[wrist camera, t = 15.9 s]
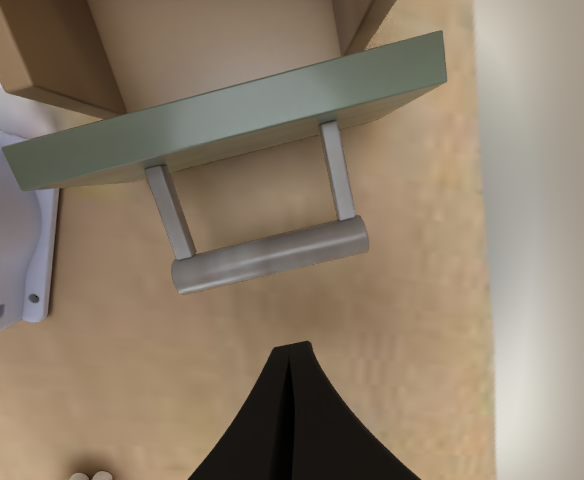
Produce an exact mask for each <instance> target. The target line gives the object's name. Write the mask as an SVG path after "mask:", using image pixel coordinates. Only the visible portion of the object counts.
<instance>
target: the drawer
mask: <svg viewBox="0 0 584 480" xmlns="http://www.w3.org/2000/svg"><path fill="white" fill-rule="evenodd" d="M395 2H396V0H0V82H1V84H2V86H3V89H4V90H5V92H7V93H9V94H13V95H16V96H20V97H24V98H27V99H31V100H35V101H39V102H42V103H46V104H50V105H53V106H57V107H61V108H64V109H68V110H72V111H75V112H79V113H83V114H86V115H90V116H94V117H97V118H101V119H105V120H101V121H97V122H93V123H90V124H86V125H82V126H78V127H75V128H71V129H67V130H63V131H59V132H56V133H52V134H48V135H44V136H41V137H37V138H33V139H29V140H26V141H22V142H18V143H14V144H11V145H7V146H3V147H1V149H2V151H3V153H4V155H5V157H6V159H7V162H8V164H9V166H10V168H11V170H12V172H13V174H14V176H15V178H16V180H17V182H18V185H19V187H20V189H21V190H22V191H32V190H44V189H56V188H68V187H80V186H92V185H103V184H115V183H127V182H135V181H139V180H143V179H147V180H148V182H149V185H150V188H151V191H152V193H153V196H154V199H155V202H156V204H157V207H158V210H159V213H160V215H161V218H162V221H163V224H164V226H165V229H166V232H167V235H168V237H169V240H170V243H171V246H172V248H173V251H174V254H175V257H176V260H174V262H173V264H172V279H173V283H174V285H175V287H176V289H177V291H178V292H179V293H180V294H182V295H187V294H192V293H196V292H200V291H204V290H209V289H213V288H217V287H221V286H226V285H230V284H234V283H238V282H243V281H247V280H251V279H255V278H260V277H264V276H268V275H272V274H277V273H281V272H285V271H289V270H294V269H298V268H302V267H306V266H311V265H315V264H319V263H323V262H328V261H332V260H336V259H340V258H345V257H349V256H353V255H357V254H362V253H366V252H368V251H369V239H368V234H367V230H366V227H365V224H364V222H363V220H362V218H361V216H359V215H355V209H354V204H353V199H352V193H351V188H350V183H349V178H348V172H347V167H346V162H345V156H344V151H343V146H342V140H341V135H340V130H339V129H343V128H347V127H351V126H355V125H359V124H363V123H367V122H371V121H374V120H378V119H380V118H381V117H383V116H385V115H387V114H389V113H391V112H392V111H394V110H396V109H398V108H400V107H402V106H403V105H405V104H407V103H409V102H411V101H413V100H414V99H416V98H418V97H420V96H422V95H424V94H425V93H427V92H429V91H431V90H433V89H435V88H436V87H438V86H440V85H442V84H444V83H445V82H447V73H446V62H445V51H444V41H443V32H442V31H441V30H440V31H436V32H432V33H429V34H425V35H421V36H417V37H413V38H410V39H406V40H402V41H398V42H395V43H391V44H387V45H383V46H380V47H376V48H372V49H368V50H365V51H364V49H365V48H366V46H367V45H368V43H369V42H370V40H371V39H372V37H373V35H374V34H375V32H376V31H377V29H378V28H379V26H380V25H381V23H382V22H383V20H384V19H385V17H386V15H387V14H388V12H389V11H390V9H391V8H392V6H393V5H394V3H395ZM319 134H320V138H321V143H322V148H323V153H324V158H325V163H326V167H327V172H328V177H329V182H330V187H331V192H332V197H333V202H334V206H335V211H336V216H337V218H338V219H339V220H335V221H331V222H327V223H323V224H318V225H314V226H310V227H306V228H302V229H298V230H294V231H289V232H285V233H281V234H277V235H273V236H269V237H265V238H260V239H256V240H252V241H248V242H244V243H240V244H236V245H231V246H227V247H223V248H219V249H215V250H211V251H207V252H202V253H198V254H195V253H196V252H197V251H196V248H195V245H194V243H193V240H192V237H191V234H190V231H189V228H188V225H187V222H186V219H185V216H184V213H183V210H182V207H181V205H180V202H179V199H178V196H177V193H176V190H175V187H174V184H173V181H172V178H171V175H170V172H174V171H178V170H182V169H186V168H190V167H194V166H198V165H202V164H206V163H210V162H213V161H217V160H221V159H225V158H229V157H233V156H237V155H241V154H245V153H249V152H253V151H257V150H261V149H264V148H268V147H272V146H276V145H280V144H284V143H288V142H292V141H296V140H300V139H304V138H308V137H312V136H316V135H319Z"/></svg>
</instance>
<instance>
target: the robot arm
mask: <svg viewBox="0 0 584 480" xmlns="http://www.w3.org/2000/svg"><path fill="white" fill-rule="evenodd" d="M26 140H29V139H27V138H23V137H20V136H16V135H13V134H9V133H6V132H2V131H0V331H2V330H4V329H6V328H7V327H9V326H11V325H13V324H14V323H16V322H18V321H20V320H24V321H28V322H32V323H38V322H40V321H42V320H44V319H45V318H46V317H47V315H48V305H49V294H50V284H51V273H52V262H53V251H54V240H55V229H56V219H57V208H58V197H59V188H56V189H44V190H32V191H22V190H21V189H20V187H19V185H18V182H17V180H16V178H15V176H14V174H13V172H12V170H11V168H10V166H9V164H8V162H7V159H6V157H5V155H4V153H3V151H2V149H1V147H3V146H7V145H11V144H14V143H18V142H22V141H26ZM36 295H37V296H38V297H39V299H38V298H37V297H36ZM188 480H421V479H420V478H419V477H418V476H416V475H415V474H414V473H413V472H412V471H411V470H409V469H408V468H407V467H406V466H405V465H404V464H403V463H401V462H400V461H399V460H398V459H397V458H396V457H395V456H394V455H393V454H392V453H391V452H390V451H389V450H388V449H387V448H386V447H385V446H384V445H383V444H382V443H381V442H380V441H379V440H378V439H377V438H375V436H374V435H373V434H372V433H371V432H370V431H369V430H368V429H367V428H366V427H365V426H364V425H363V424H362V423H361V421H360V420H359V419H358V418H357V417H356V416H355V414H354V413H353V412H352V411H351V410H350V408H349V407H348V406H347V405H346V403H345V402H344V401H343V400H342V398H341V397H340V395H339V394H338V393H337V391H336V390H335V389H334V387H333V386H332V384H331V383H330V381H329V380H328V378H327V376H326V375H325V373H324V372H323V370H322V368H321V366H320V365H319V363H318V361H317V359H316V357H315V354H314V352H313V348H312V344H311V343H310V342H309V341H303V342H298V343H294V344H289V345H284V346H279V347H274V348H273V350H272V351H271V354H270V356H269V358H268V360H267V362H266V364H265V366H264V368H263V370H262V372H261V374H260V376H259V378H258V380H257V382H256V383H255V385H254V387H253V389H252V391H251V393H250V394H249V396H248V398H247V399H246V401H245V403H244V404H243V406H242V407H241V409H240V411H239V412H238V414H237V416H236V417H235V419H234V420H233V422H232V423H231V425H230V426H229V428H228V429H227V430H226V432H225V433H224V435H223V436H222V437H221V439H220V440H219V442H218V443H217V444H216V446H215V447H214V448H213V450H212V451H211V452H210V453H209V455H208V456H207V457H206V458H205V459H204V461H203V462H202V463H201V464H200V465H199V467H198V468H197V469H196V470H195V471H194V473H193V474H192V475H191V476H190V477H189V479H188Z"/></svg>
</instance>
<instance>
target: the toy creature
mask: <svg viewBox="0 0 584 480" xmlns="http://www.w3.org/2000/svg"><path fill="white" fill-rule="evenodd" d="M69 480H89V478H88V476H87V475H85V474H83V473H75V474H73V475H72V476H71V478H70V479H69ZM92 480H112V475H111V474H110V473H108V472H105V471H100V472H97V473H96V474H95V475H94V477H93V478H92Z"/></svg>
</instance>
